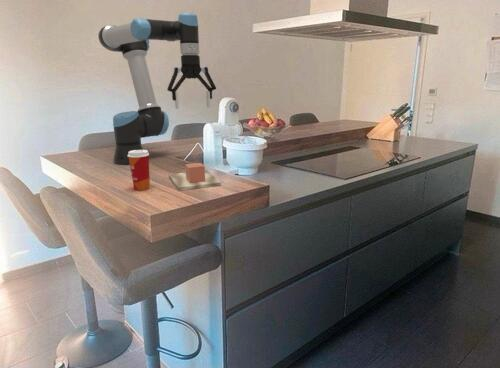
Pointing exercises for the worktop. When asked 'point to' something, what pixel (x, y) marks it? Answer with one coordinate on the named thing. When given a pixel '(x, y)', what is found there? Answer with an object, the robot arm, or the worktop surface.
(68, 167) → the worktop surface
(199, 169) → the reddish orange cube
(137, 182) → the paper cup
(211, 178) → the board
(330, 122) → the worktop surface
